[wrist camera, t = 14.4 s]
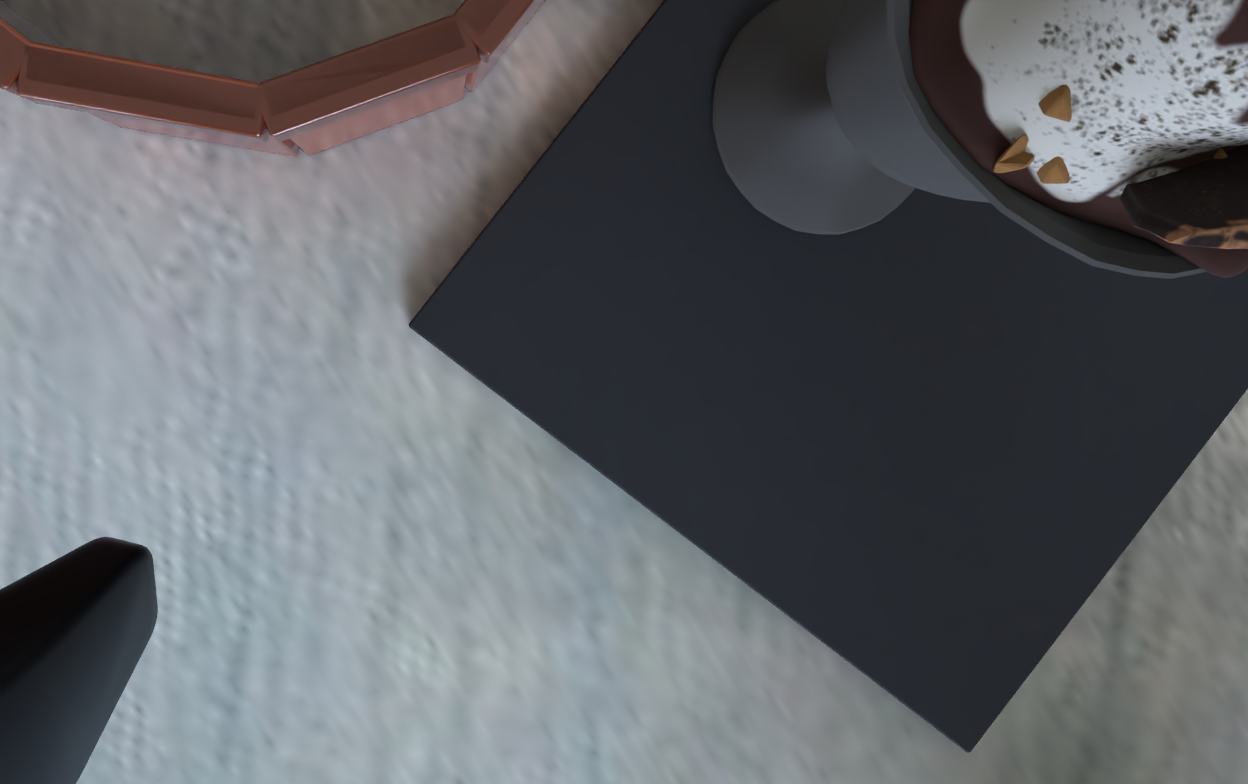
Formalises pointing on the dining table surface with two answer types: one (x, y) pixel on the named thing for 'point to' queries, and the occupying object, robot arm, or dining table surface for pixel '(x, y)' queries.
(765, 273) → the placemat
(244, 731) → the dining table surface
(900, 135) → the sundae
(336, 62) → the serving tub
